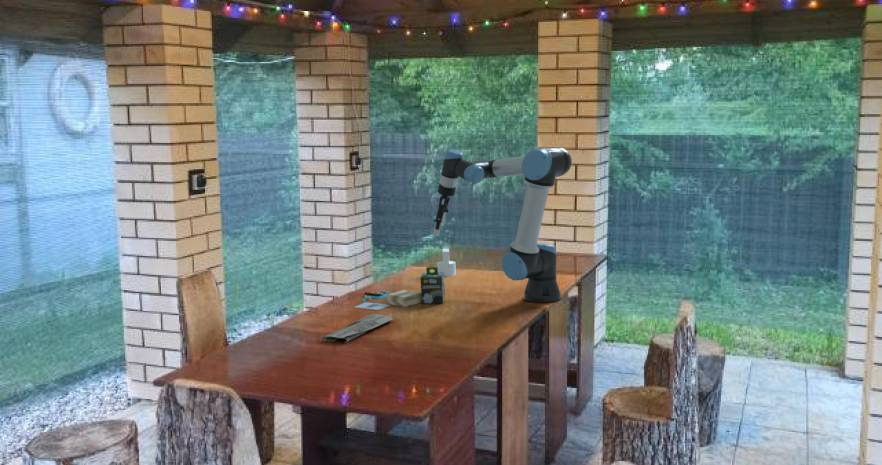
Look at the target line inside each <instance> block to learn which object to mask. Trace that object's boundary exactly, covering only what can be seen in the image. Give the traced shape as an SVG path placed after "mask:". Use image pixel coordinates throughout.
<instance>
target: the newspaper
mask: <svg viewBox="0 0 882 465" xmlns="http://www.w3.org/2000/svg"><path fill="white" fill-rule="evenodd" d="M395 319H396V318H393V317H391V315H386V314H385V315H384V314H377V313H375V314H368V315H366V316H363V317H362V318H360V319H358V320H356V321H354V322H352V323H350V324H348V325H345V326H344V327H342V328H339V329H337V330H335V331H332V332H331V333H329V334H327V335H325V336H323V337H322V338H321V341H322V342H335V341H338V340H340V339H343V340H346V341H344V344H347V343H349V342H350V341H352V340H354V339H356V338H358V337H359V336H362V335H363V334H366V333H368V332H370V331H372V330H374V329H376V328H379V326H381V325H384V324H385V323H388V322H390V321H392V320H395Z"/></svg>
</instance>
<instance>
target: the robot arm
mask: <svg viewBox="0 0 882 465" xmlns="http://www.w3.org/2000/svg"><path fill="white" fill-rule="evenodd" d="M572 164H573V163H572V156H571V154H570V153H569V151H568V150H566V149H565V148H563V147H559V146H555V147H545V148H544V147H543V148H542V147H540V148H535V149H531V150H529V151H528V152H526V153H525V155H523V156H517V157H515V156H514V157H506V158H499V159H498V158H497V159H490V160H489V159H488V160H482V161H473V162H472V161H469V160H466V159H464V153H463V152H462V151H461V150H457V149H452V148H451V149H446V152H445V153H444V157H443V162H442V168H441V172H440V175H439V176H438V178H439V184H438V187H437V193H438V194H439V195H440V197H439V203H438V209H437V212H436V213H437V214H436V217H435V219H433V222H435V223H434V227H433V232H432V236H435V237H440V233H441V229H442V227H443V228H444V226H445V221H446V217H447V213H449V209H448V207H449V202H450V200H451V198H450V197H453V196H455V194H456V190H457V185H458V182H459V178H461V179H463V180H465V181H467V182H468V183H471V184H476V185H477V184H479V183H480V182H481V181H482V180H483V179H484V180H485V179H495V178H504V177H514V176H524V181H525V183H526V189H525V194H524V198H523V203H522V208H521V214H520V218H519V223H518V227H517V232H516V238H515V240H514V241H513V242H511V243H510V246H509V247H510V248H509V252H506V253H505V254H504V255H503V256H502V259H501V269H502V271H503V273H504V275H505V276H506V277H507V278H509V280H512V281H516V282H517V281H524V280H527V284H526V286H525V290H524V293H523V298H524V300H525V301H528V302H533V303H552V302H553V303H554V302H557V301H559V300H561V299H562V298H561V297H562V296H561V295H562V294H561V290H560V287H559V283H558V281H557V255H558V254H557V247H556V246H555V245H554V244H549V243H538V241H539V235H540V233H541V232H540V231H541V227H542V222H543V217H544V213H545V209H546V205H547V201H548V195H549V190H550V189H551V188H553V187H554V185H555V182H556V178H559V177H562V176H564V175H566V174H567V173H568V172H569V171H570V169H571V166H572Z"/></svg>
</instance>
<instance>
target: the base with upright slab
mask: <svg viewBox="0 0 882 465" xmlns="http://www.w3.org/2000/svg"><path fill="white" fill-rule="evenodd" d="M456 265H457V264H456V261H453V260H450V248H442V261H438V262H436V267H437V268H438V272H444V278H445V277H454V276H456V275H457V270H456V268H457V267H456Z"/></svg>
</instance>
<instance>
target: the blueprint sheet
mask: <svg viewBox="0 0 882 465" xmlns="http://www.w3.org/2000/svg"><path fill="white" fill-rule="evenodd" d="M390 306H391V304H385V303H376V302H375V303H373V302H367V301H365V302H363V303H360V304H358V305H356V306H353V308H355V309H362V310H372V311H379V310H382V309H385V308H387V307H390Z"/></svg>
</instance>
